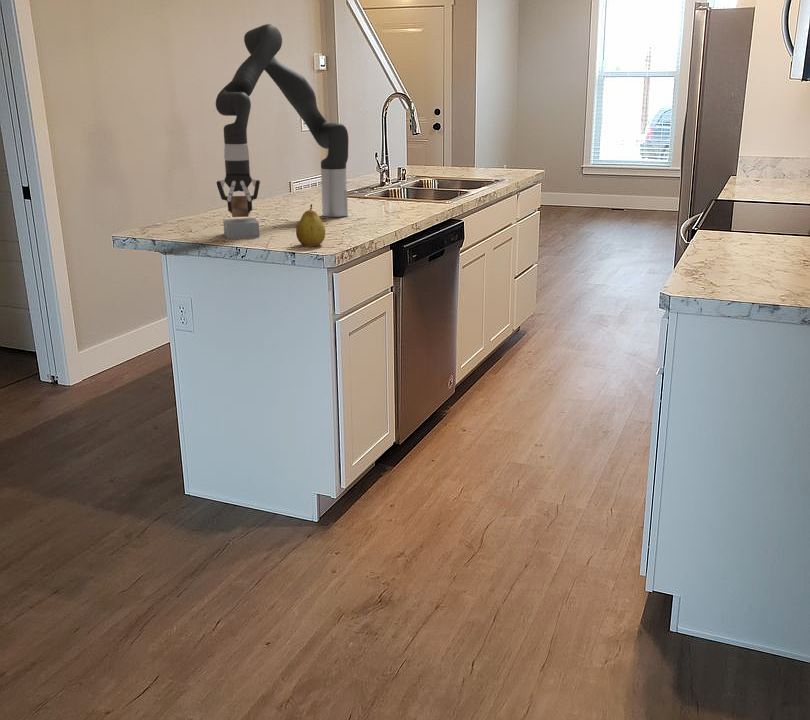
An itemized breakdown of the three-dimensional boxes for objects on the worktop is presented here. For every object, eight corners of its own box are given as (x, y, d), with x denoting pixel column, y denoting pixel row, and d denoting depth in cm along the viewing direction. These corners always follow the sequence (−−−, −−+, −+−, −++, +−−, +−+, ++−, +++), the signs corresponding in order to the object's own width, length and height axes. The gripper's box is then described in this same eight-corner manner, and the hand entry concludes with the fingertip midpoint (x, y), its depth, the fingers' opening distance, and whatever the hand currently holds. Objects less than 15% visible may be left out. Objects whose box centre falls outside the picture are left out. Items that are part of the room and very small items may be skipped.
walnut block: (248, 214, 272) (247, 195, 270) (248, 216, 267) (246, 197, 265) (233, 214, 271) (232, 196, 269) (232, 217, 266) (230, 197, 264)
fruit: (310, 249, 248) (309, 208, 244) (290, 245, 254) (288, 205, 250) (332, 245, 254) (330, 205, 250) (311, 241, 260) (310, 202, 256)
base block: (254, 233, 277) (254, 217, 275) (259, 238, 268) (258, 222, 266) (224, 234, 274) (223, 219, 273) (227, 239, 265) (226, 224, 263)
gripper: (260, 157, 268) (263, 210, 273) (214, 157, 266) (218, 211, 271) (259, 159, 261) (262, 214, 266) (212, 159, 259) (216, 215, 264)
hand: (240, 212), depth 269 cm, fingers closed on walnut block, 5 cm apart
